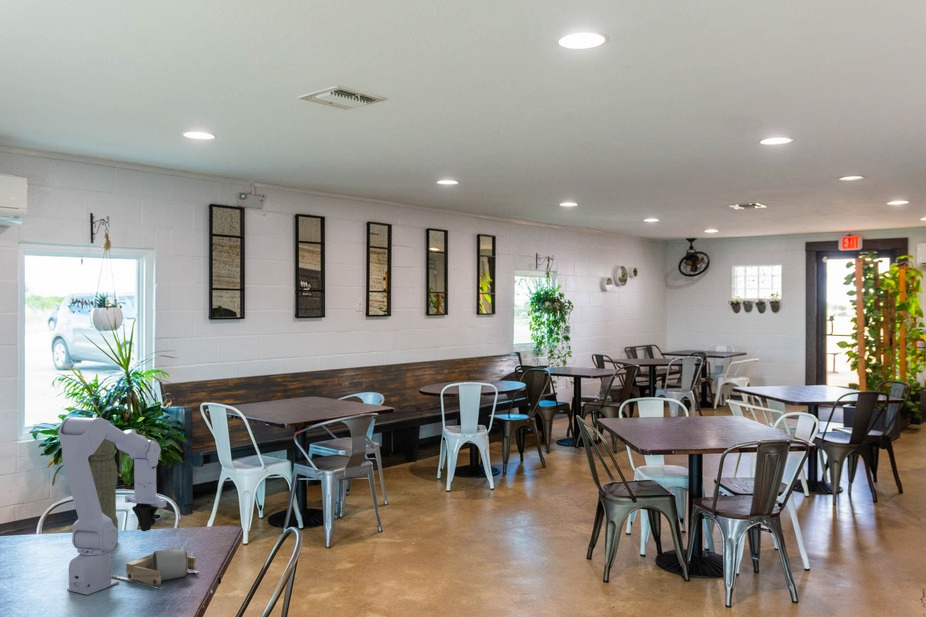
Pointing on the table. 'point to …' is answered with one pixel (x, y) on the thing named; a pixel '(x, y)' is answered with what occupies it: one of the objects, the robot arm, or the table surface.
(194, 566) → the tan wooden bracket
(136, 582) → the track
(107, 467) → the thermos
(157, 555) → the ceramic mug
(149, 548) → the table surface
